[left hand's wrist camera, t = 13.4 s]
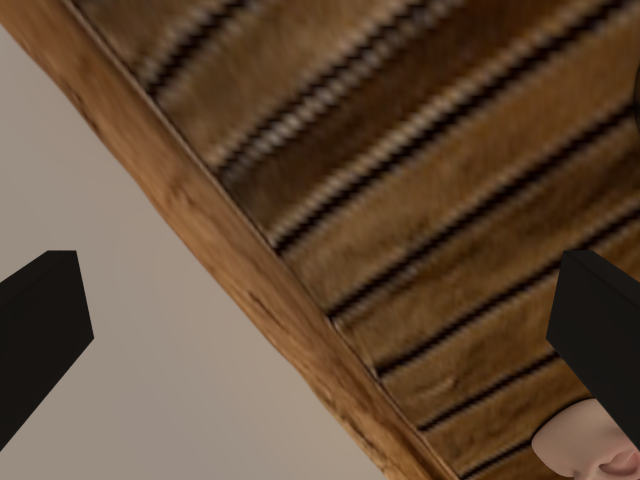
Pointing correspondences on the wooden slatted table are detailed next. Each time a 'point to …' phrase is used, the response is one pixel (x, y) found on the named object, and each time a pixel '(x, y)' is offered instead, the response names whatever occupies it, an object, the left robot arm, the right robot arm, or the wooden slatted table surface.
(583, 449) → the anatomical model
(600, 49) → the wooden slatted table surface
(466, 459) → the wooden slatted table surface
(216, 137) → the wooden slatted table surface
